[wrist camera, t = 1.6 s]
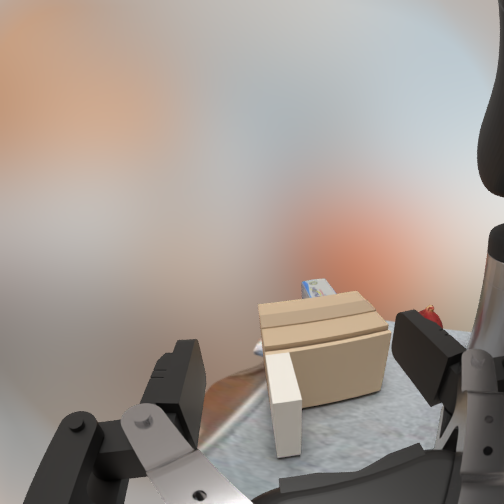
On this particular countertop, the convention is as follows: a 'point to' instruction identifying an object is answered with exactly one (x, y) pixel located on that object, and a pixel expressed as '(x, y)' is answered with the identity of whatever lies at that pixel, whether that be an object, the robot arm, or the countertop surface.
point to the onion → (431, 315)
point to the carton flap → (320, 380)
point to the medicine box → (316, 288)
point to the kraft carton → (316, 321)
